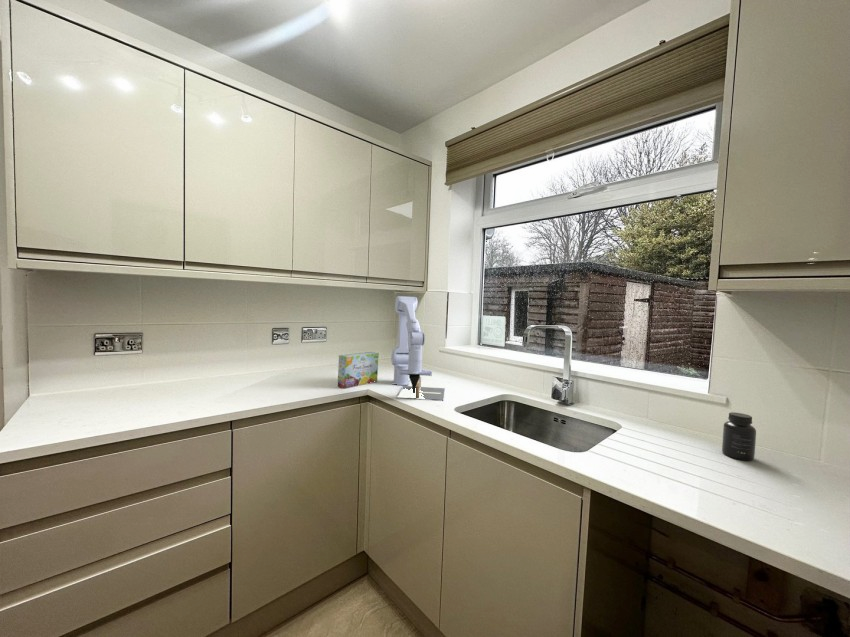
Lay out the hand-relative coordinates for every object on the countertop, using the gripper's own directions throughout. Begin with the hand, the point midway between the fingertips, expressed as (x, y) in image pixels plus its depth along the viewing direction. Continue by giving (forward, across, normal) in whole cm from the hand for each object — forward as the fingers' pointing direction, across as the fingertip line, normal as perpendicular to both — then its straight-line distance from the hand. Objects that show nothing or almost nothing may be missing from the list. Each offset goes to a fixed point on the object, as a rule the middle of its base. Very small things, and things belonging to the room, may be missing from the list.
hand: (413, 392), depth 144 cm
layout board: (+2, +2, +8) cm, 9 cm away
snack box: (+3, -27, +21) cm, 35 cm away
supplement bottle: (+3, +93, -50) cm, 106 cm away
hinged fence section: (+2, +1, +2) cm, 3 cm away
